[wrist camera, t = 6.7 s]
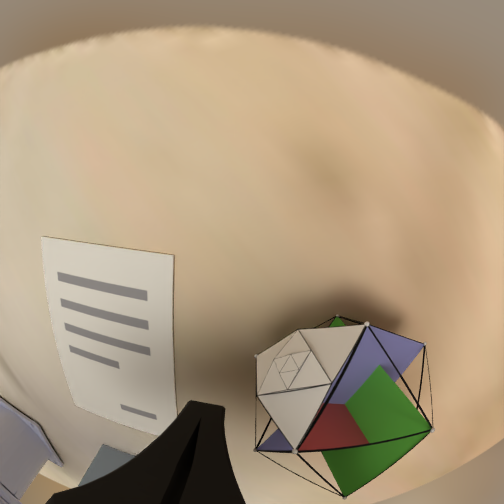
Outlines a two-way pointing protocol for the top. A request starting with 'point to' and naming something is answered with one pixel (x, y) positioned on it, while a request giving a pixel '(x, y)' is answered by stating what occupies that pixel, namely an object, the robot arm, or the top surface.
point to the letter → (114, 330)
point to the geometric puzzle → (341, 399)
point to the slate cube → (105, 463)
